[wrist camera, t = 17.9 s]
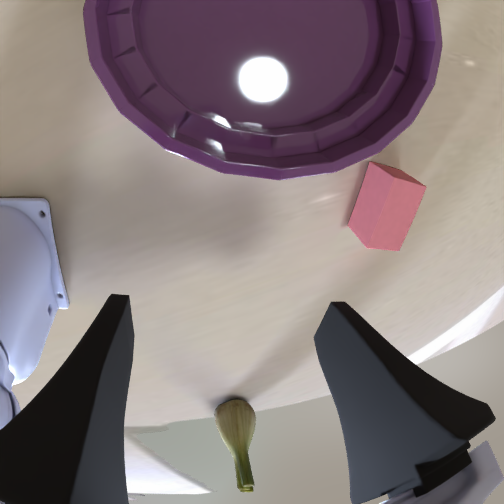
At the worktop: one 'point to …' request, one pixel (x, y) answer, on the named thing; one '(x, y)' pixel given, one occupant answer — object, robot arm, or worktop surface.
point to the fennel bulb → (238, 437)
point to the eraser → (385, 207)
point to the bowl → (267, 77)
